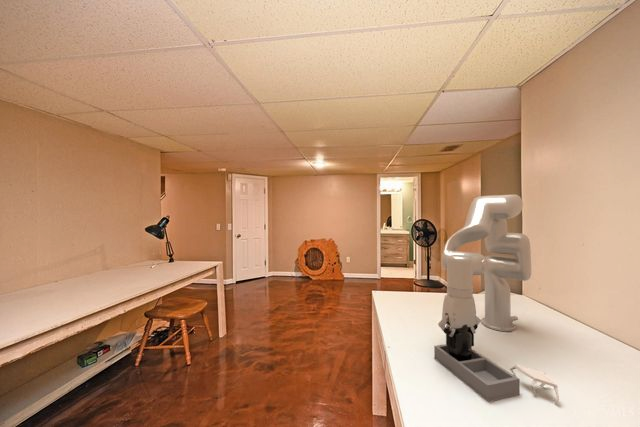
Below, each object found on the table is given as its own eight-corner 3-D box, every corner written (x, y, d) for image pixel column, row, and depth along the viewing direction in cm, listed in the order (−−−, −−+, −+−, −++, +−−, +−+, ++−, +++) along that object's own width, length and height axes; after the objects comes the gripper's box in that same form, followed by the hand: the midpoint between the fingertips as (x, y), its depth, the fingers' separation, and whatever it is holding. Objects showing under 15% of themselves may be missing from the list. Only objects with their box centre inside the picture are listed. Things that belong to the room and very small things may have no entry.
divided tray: (460, 354, 91) (460, 341, 91) (519, 395, 70) (519, 378, 70) (434, 358, 88) (434, 345, 88) (487, 402, 68) (487, 385, 68)
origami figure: (564, 394, 71) (564, 376, 71) (558, 408, 65) (558, 389, 65) (512, 373, 80) (512, 357, 80) (503, 384, 75) (503, 367, 75)
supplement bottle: (475, 365, 80) (475, 327, 80) (452, 362, 81) (451, 325, 81) (467, 353, 87) (467, 318, 87) (446, 351, 88) (445, 317, 88)
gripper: (471, 287, 90) (472, 337, 90) (429, 290, 86) (430, 343, 86) (490, 293, 83) (490, 347, 82) (445, 298, 78) (446, 355, 78)
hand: (459, 345), depth 84 cm, fingers closed on supplement bottle, 6 cm apart
